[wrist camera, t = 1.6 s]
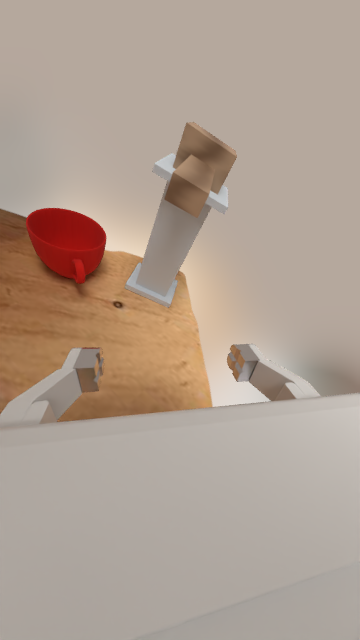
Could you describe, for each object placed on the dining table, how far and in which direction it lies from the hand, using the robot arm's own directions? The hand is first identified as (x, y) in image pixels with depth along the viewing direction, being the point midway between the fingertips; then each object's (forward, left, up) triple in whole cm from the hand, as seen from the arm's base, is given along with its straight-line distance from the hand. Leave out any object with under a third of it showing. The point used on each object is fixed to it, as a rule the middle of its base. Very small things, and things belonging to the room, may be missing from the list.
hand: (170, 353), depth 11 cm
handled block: (-3, +26, +2) cm, 27 cm away
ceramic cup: (-20, +24, -24) cm, 40 cm away
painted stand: (-3, +32, -24) cm, 40 cm away
